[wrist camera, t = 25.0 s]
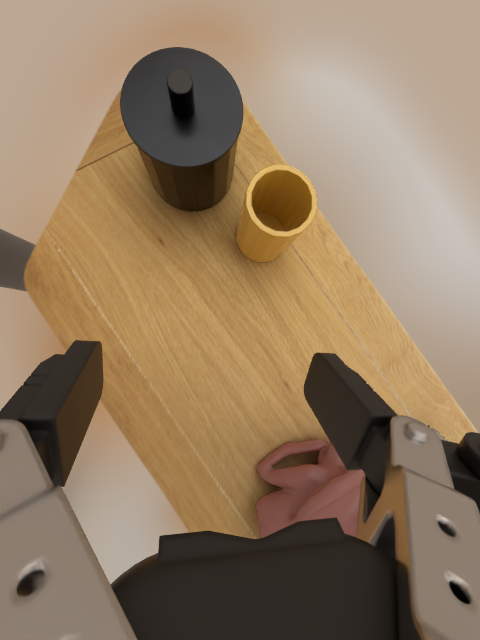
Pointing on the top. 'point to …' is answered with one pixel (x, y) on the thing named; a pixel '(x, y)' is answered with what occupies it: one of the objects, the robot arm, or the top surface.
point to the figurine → (308, 489)
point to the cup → (275, 212)
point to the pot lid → (181, 108)
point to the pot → (192, 182)
